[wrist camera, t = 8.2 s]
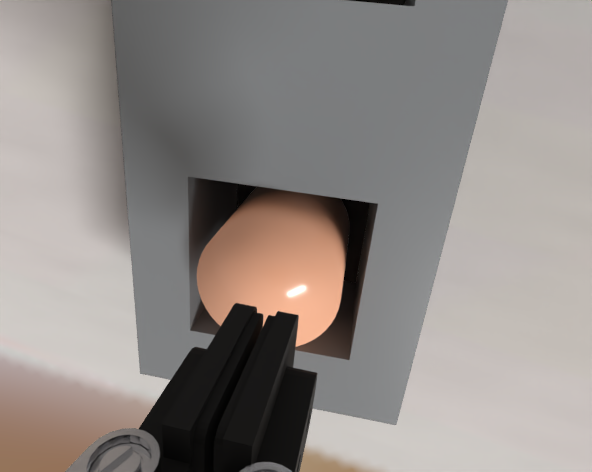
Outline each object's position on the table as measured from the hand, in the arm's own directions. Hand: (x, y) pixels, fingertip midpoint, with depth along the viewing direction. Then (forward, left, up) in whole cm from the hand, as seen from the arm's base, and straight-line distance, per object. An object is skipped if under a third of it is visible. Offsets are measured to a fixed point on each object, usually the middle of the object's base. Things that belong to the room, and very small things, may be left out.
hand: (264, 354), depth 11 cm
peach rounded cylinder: (+1, 0, -9) cm, 9 cm away
